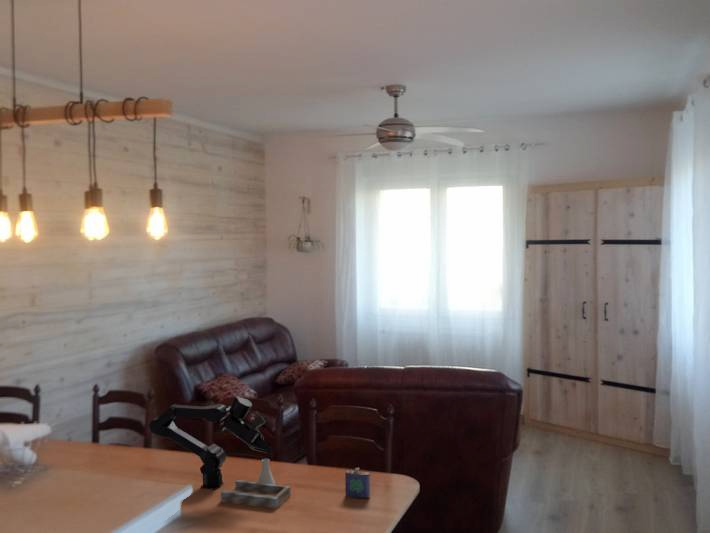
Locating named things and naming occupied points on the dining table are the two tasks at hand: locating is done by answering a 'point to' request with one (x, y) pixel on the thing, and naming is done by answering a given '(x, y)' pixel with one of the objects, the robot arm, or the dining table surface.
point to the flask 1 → (266, 473)
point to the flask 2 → (357, 484)
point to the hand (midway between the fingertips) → (271, 451)
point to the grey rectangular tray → (257, 494)
